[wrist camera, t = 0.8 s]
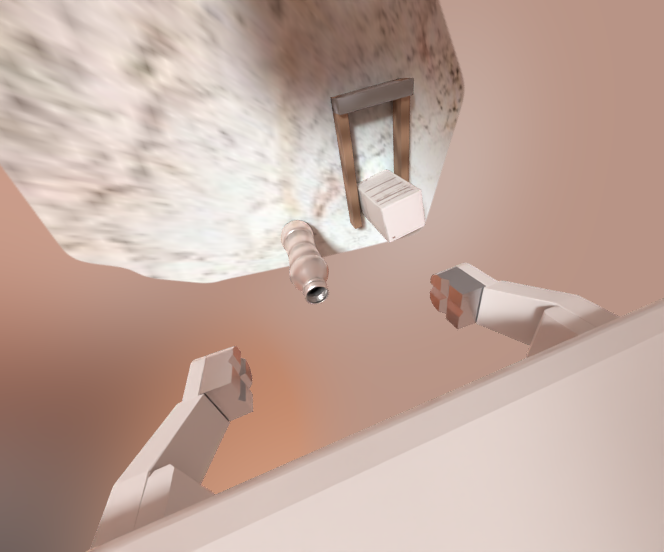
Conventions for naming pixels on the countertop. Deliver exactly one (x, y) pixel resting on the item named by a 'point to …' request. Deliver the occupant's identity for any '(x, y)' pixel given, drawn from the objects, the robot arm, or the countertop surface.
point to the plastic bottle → (305, 261)
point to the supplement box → (391, 204)
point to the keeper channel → (401, 116)
